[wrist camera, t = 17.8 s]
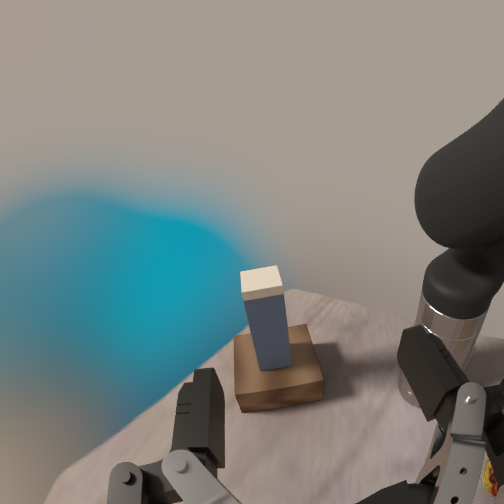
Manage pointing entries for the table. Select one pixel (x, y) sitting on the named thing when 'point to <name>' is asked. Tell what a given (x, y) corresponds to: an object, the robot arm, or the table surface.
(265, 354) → the carton
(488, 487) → the canned food
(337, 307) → the table surface
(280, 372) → the display plinth
